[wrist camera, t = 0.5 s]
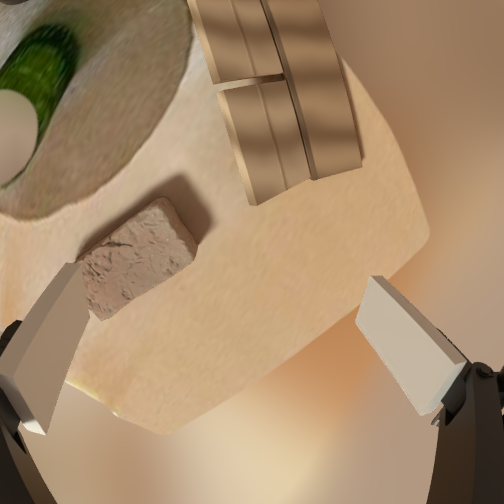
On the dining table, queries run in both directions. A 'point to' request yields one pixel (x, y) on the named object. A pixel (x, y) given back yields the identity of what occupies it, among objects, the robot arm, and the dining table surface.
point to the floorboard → (314, 85)
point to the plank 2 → (264, 139)
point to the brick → (136, 258)
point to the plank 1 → (235, 39)
